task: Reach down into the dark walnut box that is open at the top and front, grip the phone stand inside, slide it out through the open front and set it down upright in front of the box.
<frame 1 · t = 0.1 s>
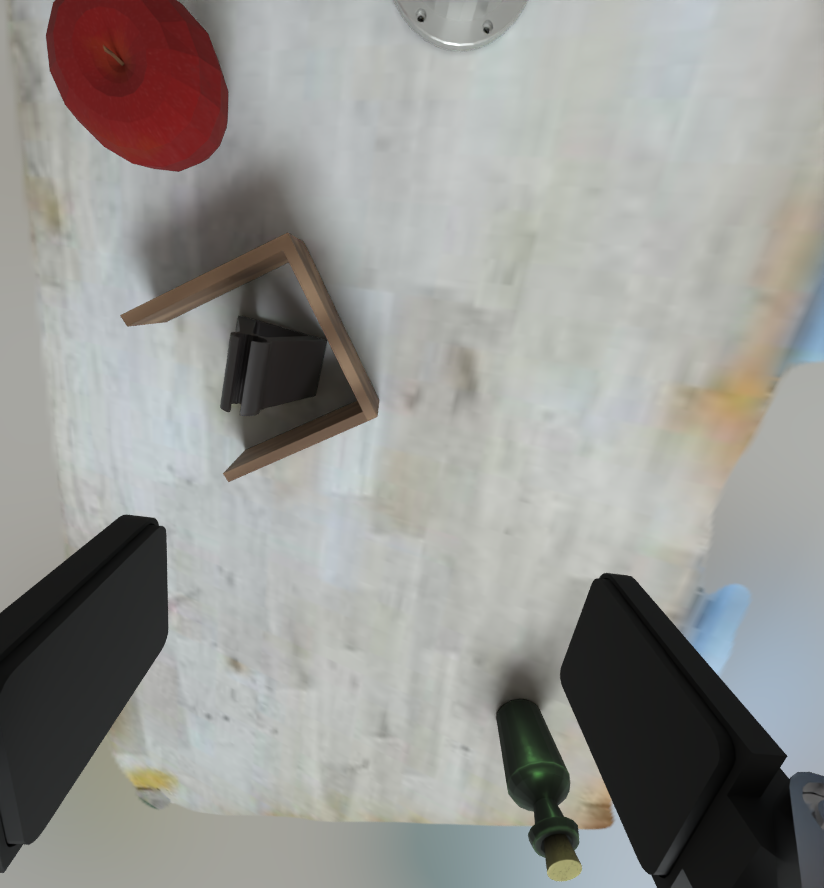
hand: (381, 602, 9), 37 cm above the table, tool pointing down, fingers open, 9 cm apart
phone stand: (279, 356, 44), on the table
potion bottle: (517, 713, 62), on the table
apple: (189, 120, 37), on the table
open box: (270, 360, 44), on the table
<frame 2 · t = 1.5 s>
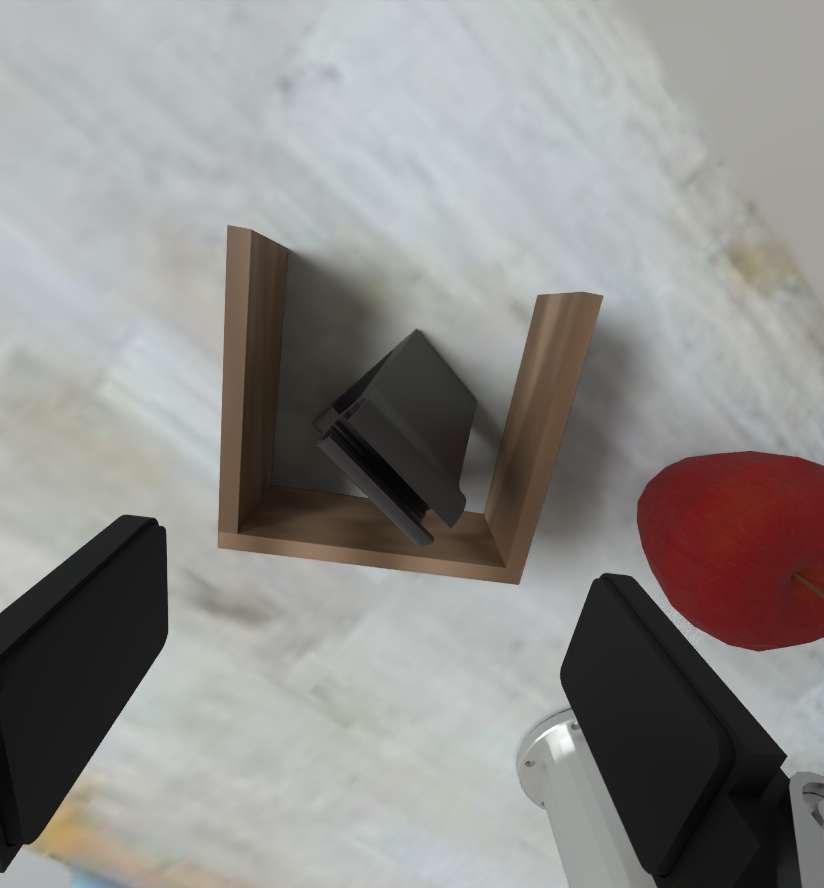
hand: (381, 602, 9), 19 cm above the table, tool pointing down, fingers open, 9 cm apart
phone stand: (394, 409, 28), on the table
apple: (674, 494, 30), on the table
open box: (396, 395, 27), on the table
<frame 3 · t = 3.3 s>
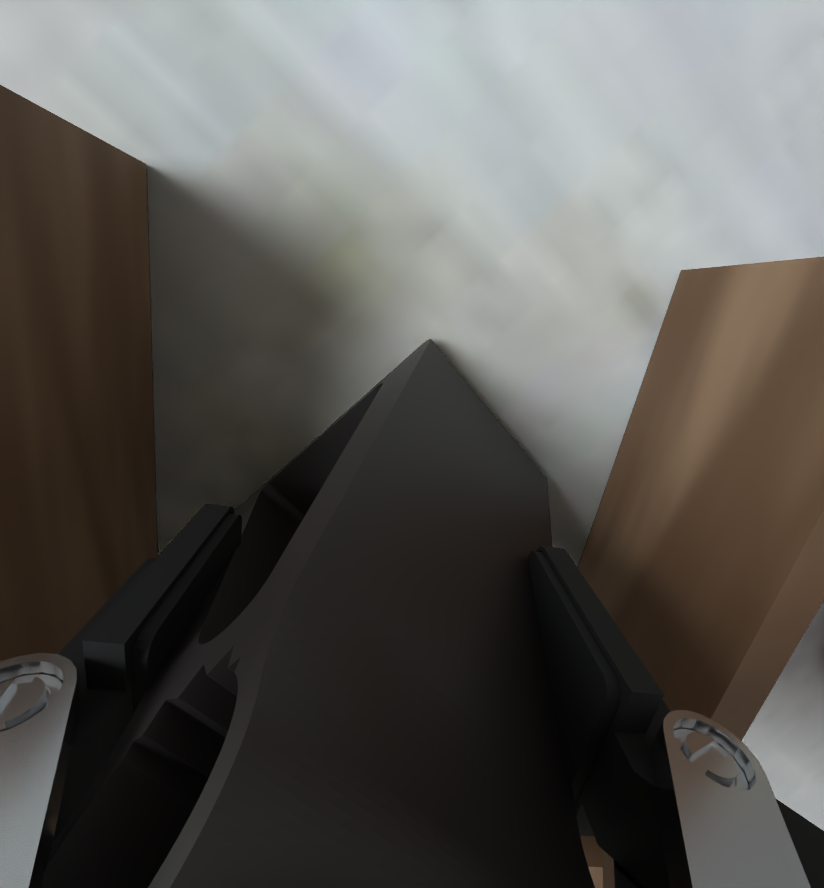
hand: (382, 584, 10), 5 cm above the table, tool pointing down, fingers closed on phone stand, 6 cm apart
phone stand: (385, 491, 14), on the table, touching gripper
open box: (389, 469, 14), on the table
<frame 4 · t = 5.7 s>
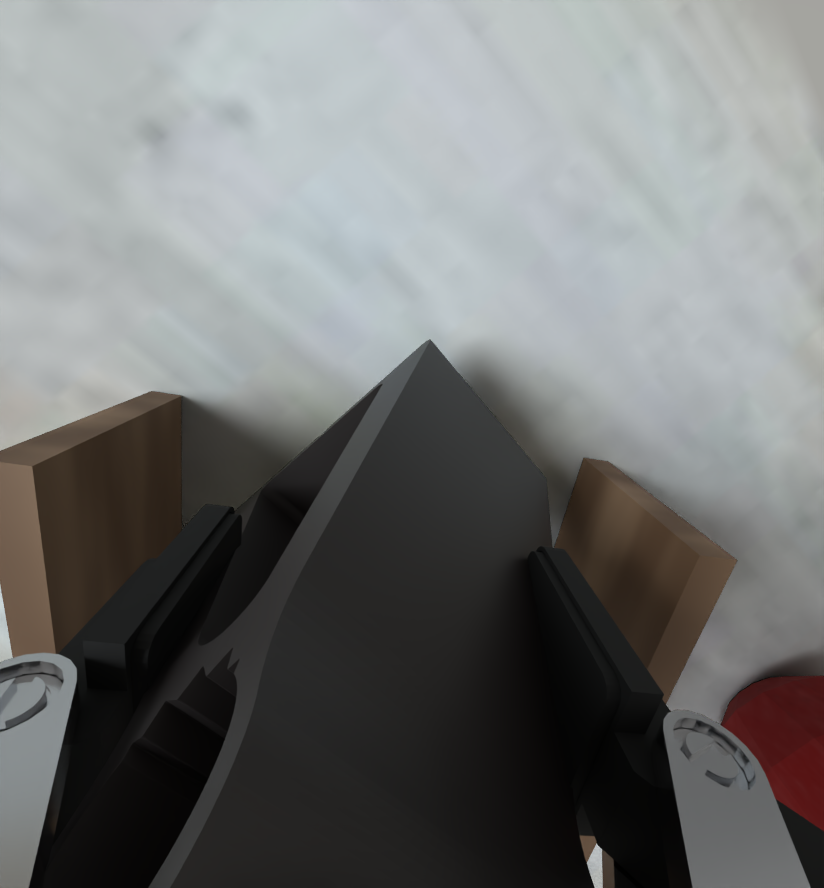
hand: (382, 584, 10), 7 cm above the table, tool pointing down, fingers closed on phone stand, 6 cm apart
phone stand: (385, 492, 14), point 2 cm above the table, touching gripper
apple: (762, 701, 21), on the table
open box: (364, 594, 18), on the table
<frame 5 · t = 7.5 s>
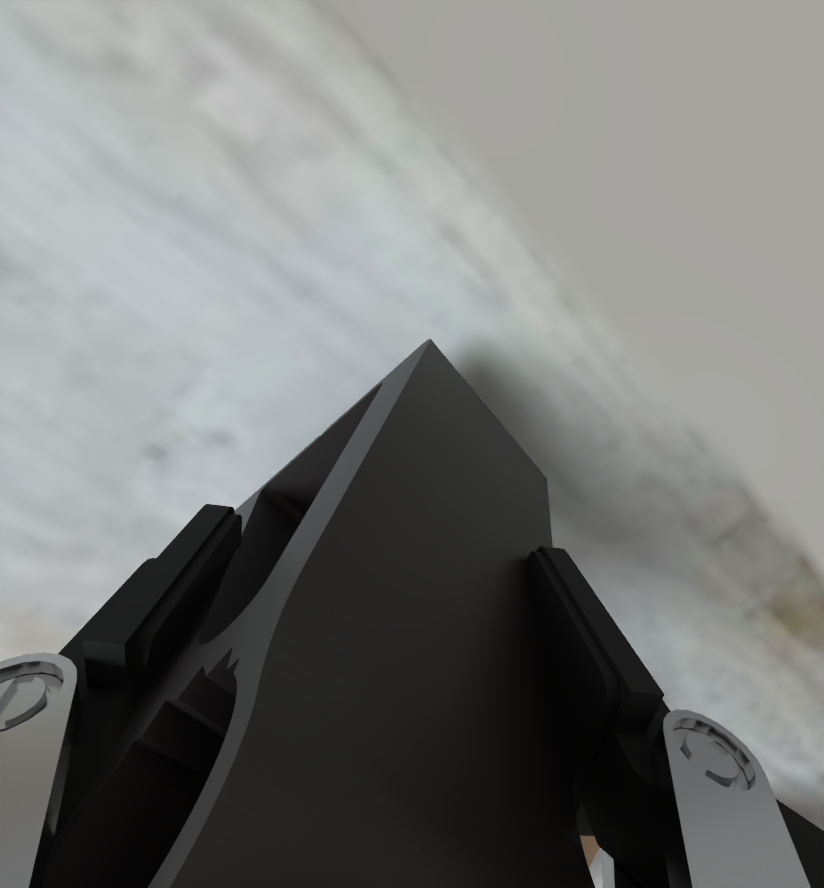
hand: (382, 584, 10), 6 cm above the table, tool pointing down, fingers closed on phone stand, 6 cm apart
phone stand: (385, 492, 14), point 2 cm above the table, touching gripper
open box: (337, 759, 21), on the table
when the fingers open (5 cm above the table, at t = 8.4 s): phone stand stays where it is, on the table.
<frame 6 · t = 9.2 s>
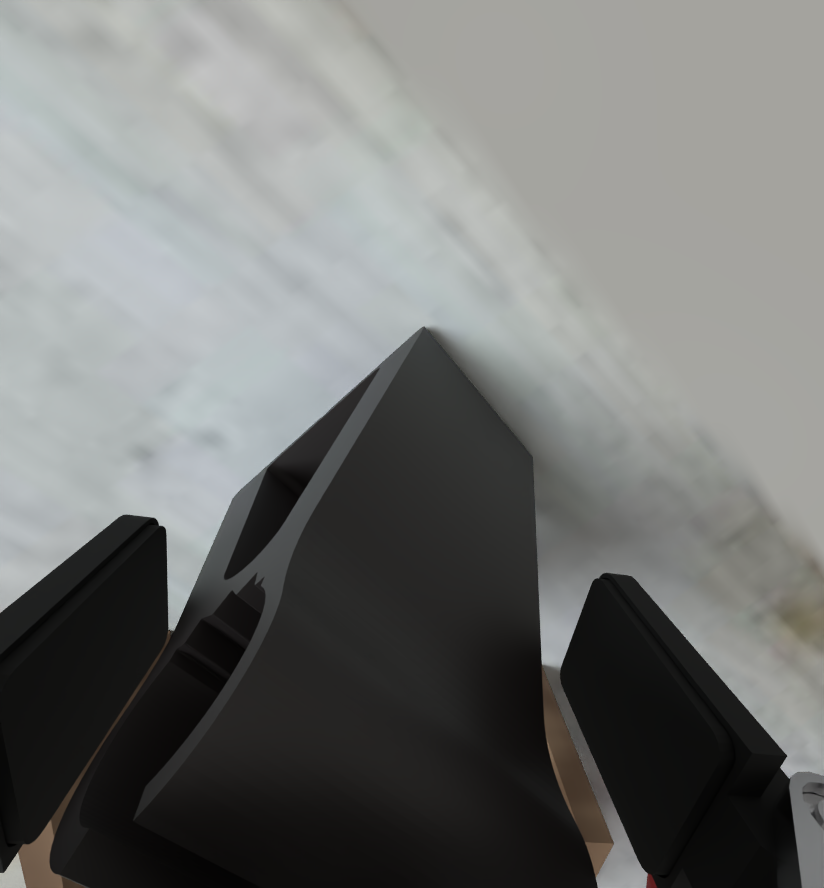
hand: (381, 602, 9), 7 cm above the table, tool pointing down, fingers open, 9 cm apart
phone stand: (383, 470, 16), on the table
open box: (334, 765, 21), on the table
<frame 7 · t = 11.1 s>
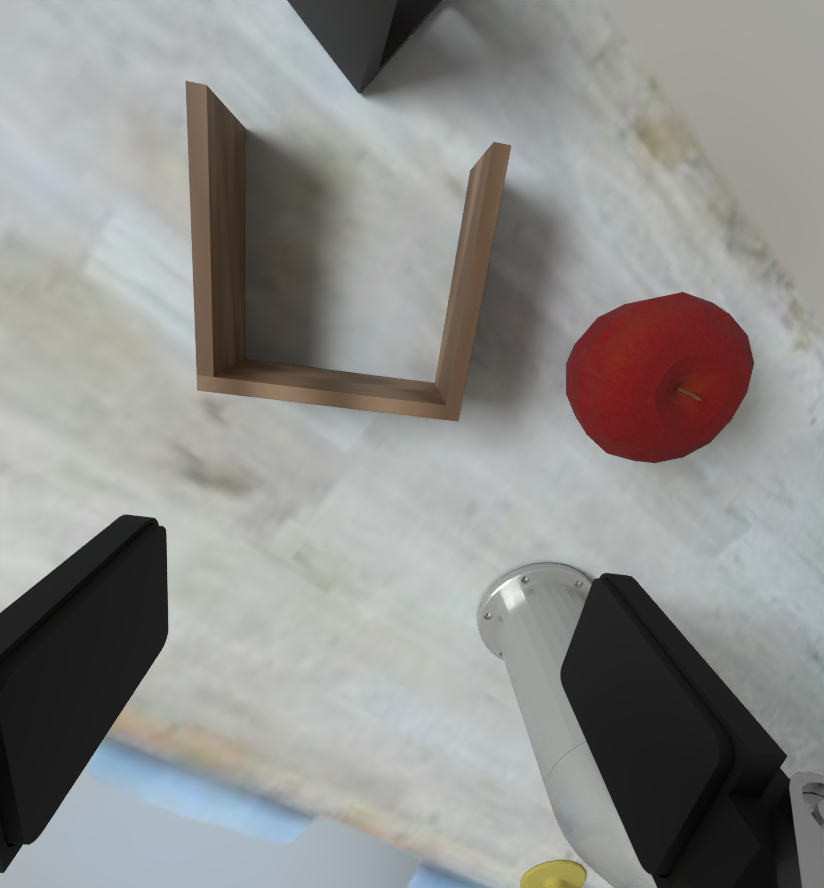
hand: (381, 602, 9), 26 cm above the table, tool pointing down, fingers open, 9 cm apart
apple: (601, 361, 35), on the table
open box: (350, 270, 31), on the table
candle: (552, 877, 63), on the table
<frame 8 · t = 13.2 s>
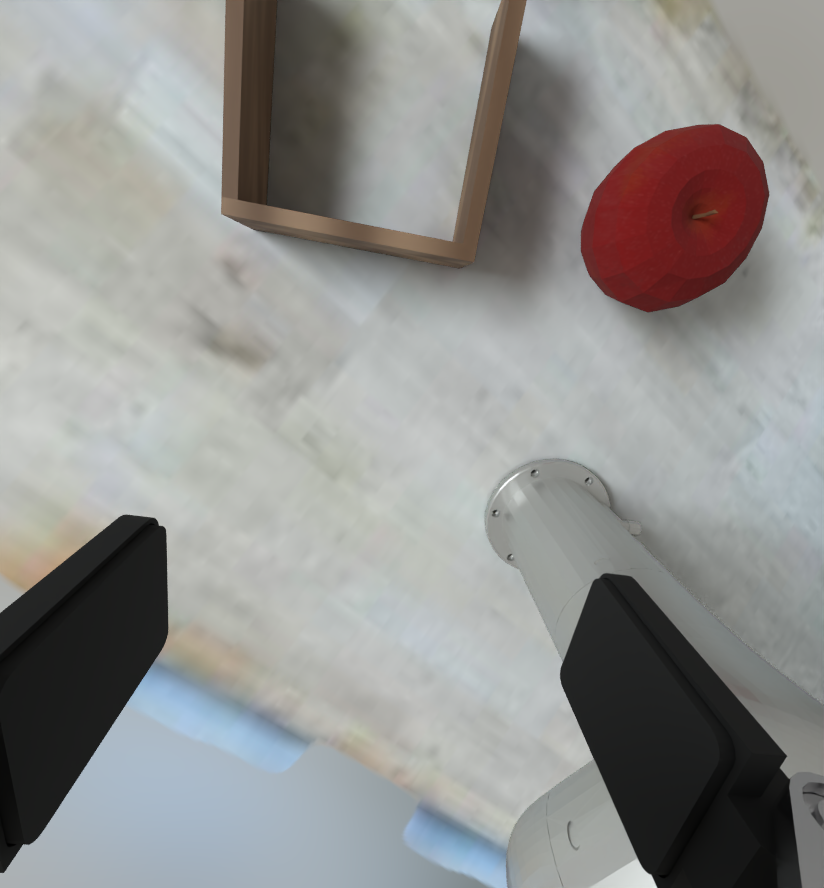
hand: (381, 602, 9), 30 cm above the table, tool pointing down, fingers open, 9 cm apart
apple: (615, 238, 35), on the table
open box: (372, 127, 32), on the table
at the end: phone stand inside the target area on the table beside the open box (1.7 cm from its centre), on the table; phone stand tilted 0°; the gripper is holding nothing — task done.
